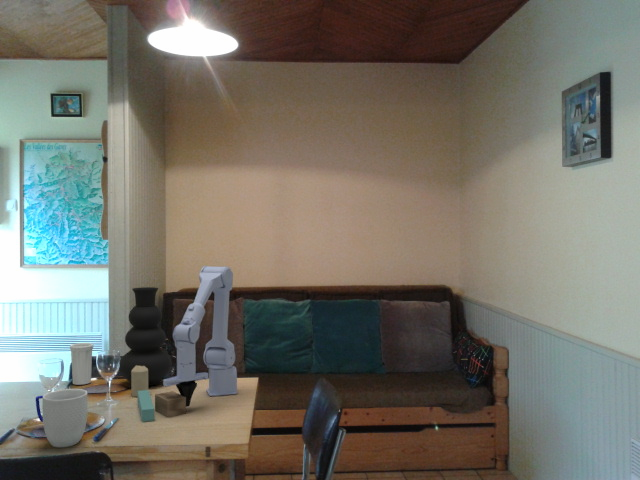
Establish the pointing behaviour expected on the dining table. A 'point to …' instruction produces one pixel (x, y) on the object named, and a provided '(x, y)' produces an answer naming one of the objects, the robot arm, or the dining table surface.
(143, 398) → the teal rectangular bar
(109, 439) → the dining table surface
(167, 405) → the block
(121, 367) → the vase
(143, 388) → the candle
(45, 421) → the mug
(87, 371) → the cup
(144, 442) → the dining table surface
